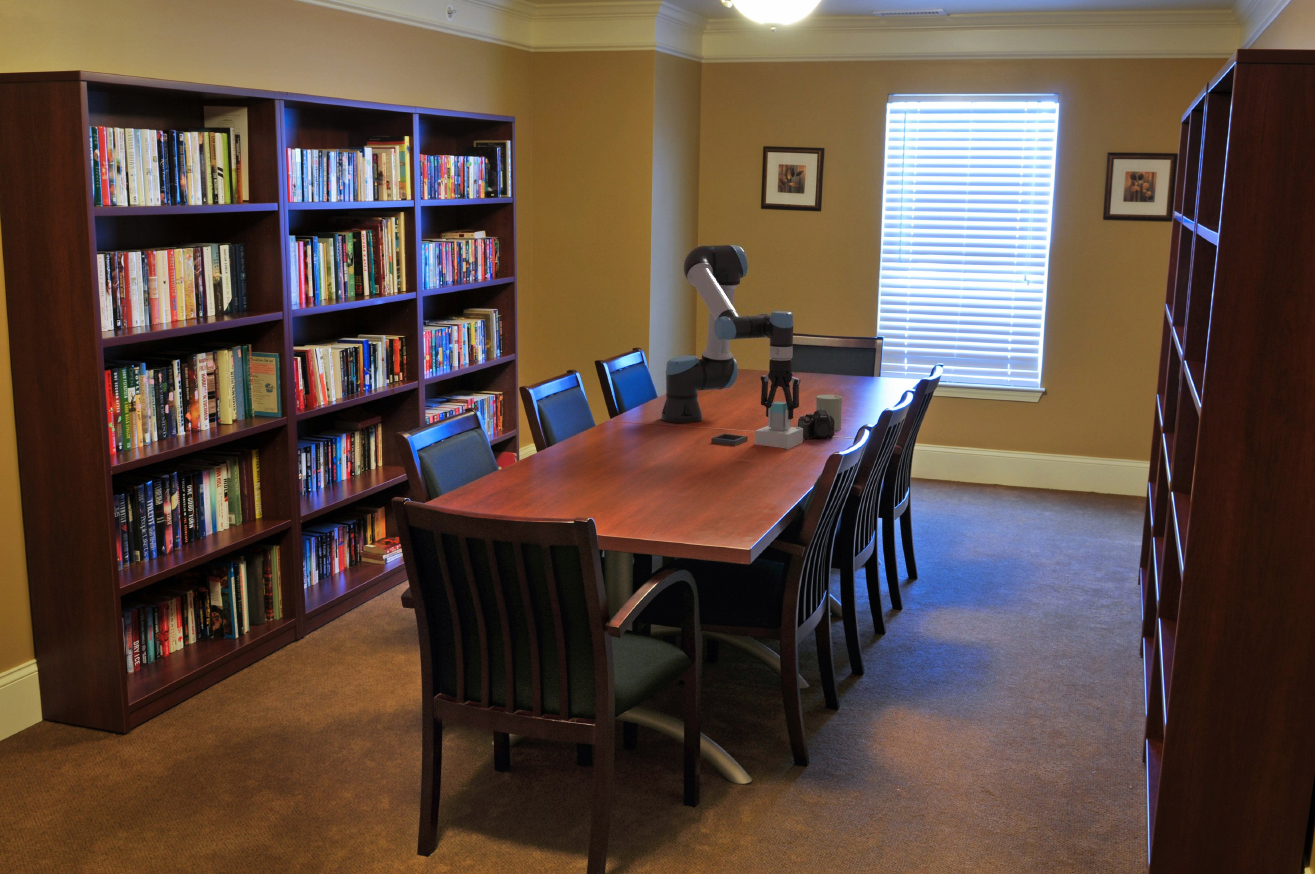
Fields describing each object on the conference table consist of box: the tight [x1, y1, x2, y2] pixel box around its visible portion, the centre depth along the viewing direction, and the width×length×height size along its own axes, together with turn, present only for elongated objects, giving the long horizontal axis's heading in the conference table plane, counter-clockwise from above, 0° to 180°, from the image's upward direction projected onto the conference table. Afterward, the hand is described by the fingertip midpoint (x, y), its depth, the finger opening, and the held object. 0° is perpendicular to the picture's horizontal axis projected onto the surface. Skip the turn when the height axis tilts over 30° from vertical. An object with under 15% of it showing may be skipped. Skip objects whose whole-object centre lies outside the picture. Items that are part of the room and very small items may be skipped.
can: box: [815, 394, 843, 432], centre depth 394 cm, size 9×9×12 cm
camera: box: [797, 409, 835, 441], centre depth 379 cm, size 13×10×10 cm
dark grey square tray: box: [710, 433, 749, 447], centre depth 371 cm, size 9×9×2 cm
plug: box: [771, 401, 788, 432], centre depth 368 cm, size 4×4×13 cm
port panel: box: [754, 425, 804, 450], centre depth 369 cm, size 12×12×5 cm
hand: (779, 427), depth 368 cm, fingers open, 5 cm apart
